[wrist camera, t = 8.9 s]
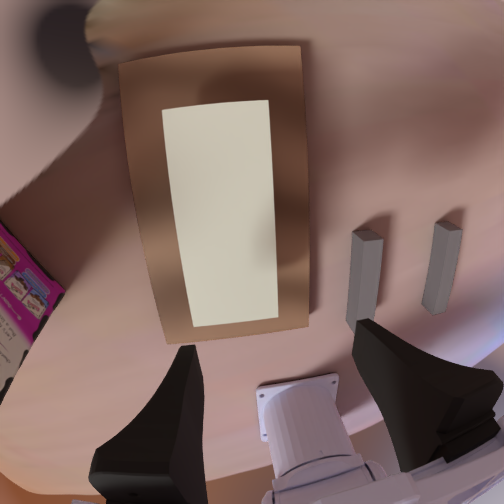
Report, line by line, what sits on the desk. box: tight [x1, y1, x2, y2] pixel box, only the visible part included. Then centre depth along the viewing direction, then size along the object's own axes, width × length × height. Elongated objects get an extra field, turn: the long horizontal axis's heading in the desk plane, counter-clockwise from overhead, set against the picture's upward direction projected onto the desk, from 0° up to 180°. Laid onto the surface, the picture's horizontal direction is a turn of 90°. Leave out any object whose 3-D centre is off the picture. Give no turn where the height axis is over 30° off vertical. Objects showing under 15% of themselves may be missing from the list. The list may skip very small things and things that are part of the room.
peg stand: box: [118, 46, 310, 344], centre depth 19 cm, size 20×11×3 cm, turn 4°
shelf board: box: [162, 100, 278, 327], centre depth 17 cm, size 12×5×2 cm, turn 4°
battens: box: [346, 222, 463, 334], centre depth 24 cm, size 8×10×2 cm
